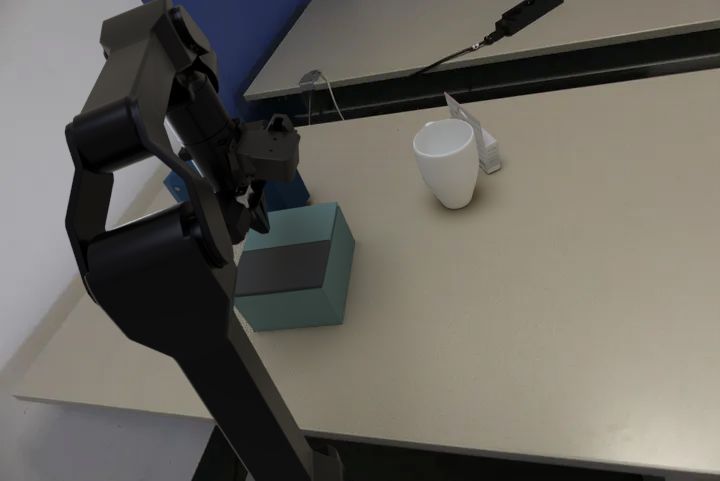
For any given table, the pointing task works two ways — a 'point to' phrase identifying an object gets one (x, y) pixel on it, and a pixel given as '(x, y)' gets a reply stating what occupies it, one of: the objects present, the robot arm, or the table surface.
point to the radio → (274, 192)
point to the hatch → (282, 268)
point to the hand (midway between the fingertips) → (266, 231)
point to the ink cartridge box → (477, 136)
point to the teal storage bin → (310, 302)
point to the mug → (448, 160)
